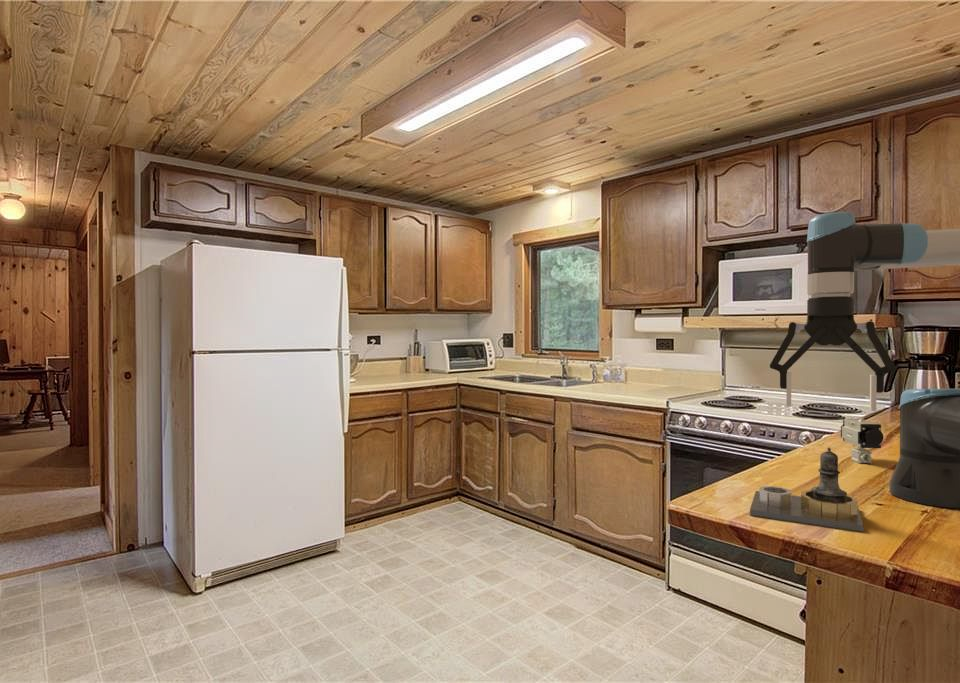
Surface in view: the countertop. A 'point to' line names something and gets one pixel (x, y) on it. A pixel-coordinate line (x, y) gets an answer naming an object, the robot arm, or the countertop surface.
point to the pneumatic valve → (861, 437)
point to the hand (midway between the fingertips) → (829, 408)
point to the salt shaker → (829, 480)
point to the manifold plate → (803, 515)
